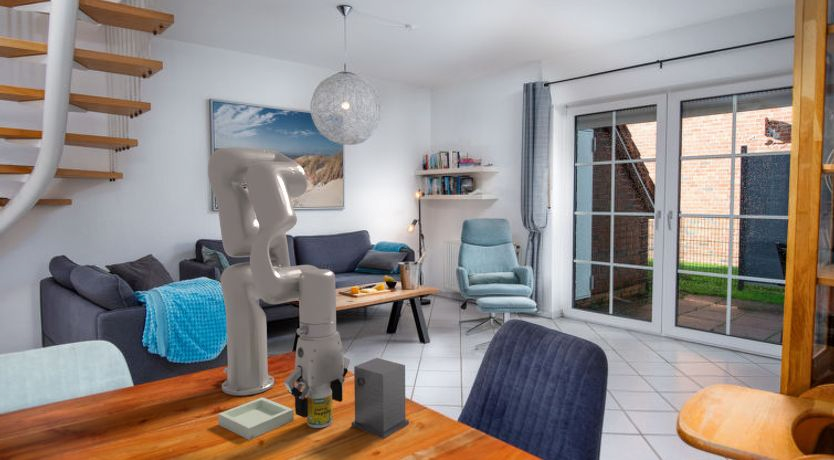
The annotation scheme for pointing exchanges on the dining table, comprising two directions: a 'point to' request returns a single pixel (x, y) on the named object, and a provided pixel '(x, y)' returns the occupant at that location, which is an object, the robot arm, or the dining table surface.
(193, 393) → the dining table surface
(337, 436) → the dining table surface
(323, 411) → the supplement bottle
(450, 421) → the dining table surface
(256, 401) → the tray
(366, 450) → the dining table surface
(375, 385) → the tabletop unit
